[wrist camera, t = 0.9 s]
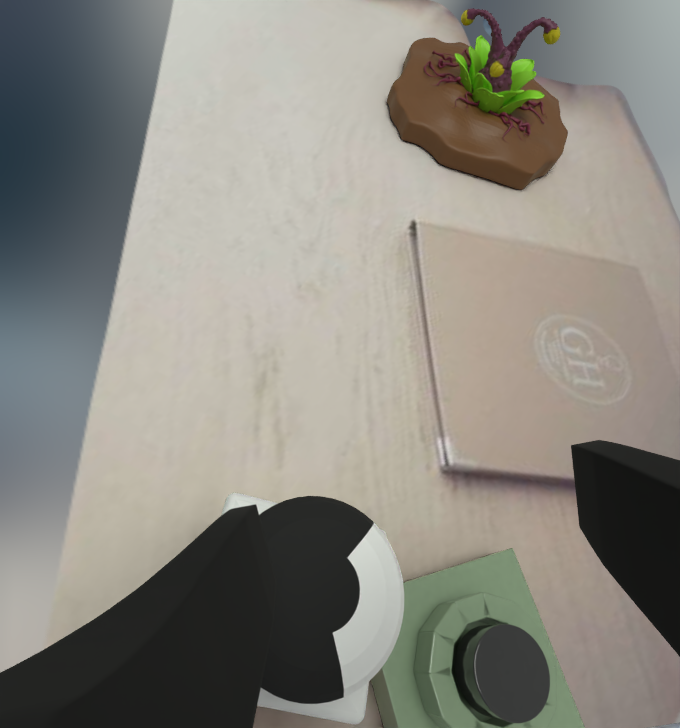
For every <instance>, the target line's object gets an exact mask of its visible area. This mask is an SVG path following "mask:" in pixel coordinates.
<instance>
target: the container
mask: <svg viewBox="0 0 680 728" xmlns="http://www.w3.org/2000/svg"><path fill="white" fill-rule="evenodd" d="M254 504H256V505H257V509H258V513H259V517H260V520H261V524H262V528H263V532H264V535H265V539H266V543H267V547H268V551H269V554H270V558H271V562H272V566H273V570H274V573H275V577H276V581H277V583H276V601H275V615H274V625H273V630H272V635H271V640H270V645H269V650H268V655H267V660H266V665H265V670H264V674H263V679H262V684H261V689H260V694H259V699H258V703H257V706H261V707H266V708H271V709H276V710H281V711H286V712H292V713H297V714H302V715H307V716H312V717H317V718H322V719H328V720H333V721H338V722H343V723H348V724H353V725H354V724H359V723H360V722H361V721H362V720H363V719H364V716H365V710H366V702H367V694H368V686H369V681H370V680H371V679H372V678H373V677H374V676H375V675H376V674H377V673H378V672H379V670H380V669H381V668H382V666H383V665H384V664H385V662H386V661H387V659H388V657H389V656H390V654H391V652H392V650H393V649H394V646H395V644H396V641H397V639H398V636H399V633H400V629H401V625H402V620H403V613H404V586H403V579H402V574H401V570H400V566H399V563H398V561H397V558H396V555H395V553H394V551H393V549H392V547H391V545H390V543H389V541H388V540H387V535H386V533H385V531H384V530H382V529H380V528H378V527H377V525H376V524H375V523H374V522H373V521H372V520H371V519H369V518H368V517H367V516H366V515H365V514H363V513H362V512H360V511H359V510H357V509H356V508H354V507H352V506H350V505H348V504H346V503H344V502H341V501H338V500H335V499H332V498H326V497H320V496H306V497H297V498H293V499H289V500H286V501H283V502H281V503H276V502H272V501H268V500H264V499H260V498H256V497H252V496H248V495H244V494H240V493H232V494H230V495H228V497H227V499H226V501H225V505H224V508H223V511H222V515H223V514H224V513H225V512H227V511H228V510H230V509H233V508H238V507H244V506H249V505H254ZM222 515H221V516H222Z"/></svg>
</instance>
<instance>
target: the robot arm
mask: <svg viewBox="0 0 680 728" xmlns="http://www.w3.org/2000/svg"><path fill="white" fill-rule="evenodd" d="M571 449H572V459H573V469H574V478H575V488H576V497H577V507H578V516H579V526H580V528H581V530H582V532H583V533H584V535H585V537H586V538H587V540H588V542H589V543H590V545H591V547H592V548H593V550H594V551H595V553H596V554H597V556H598V557H599V559H600V560H601V562H602V564H603V565H604V566H605V567H606V569H607V570H608V571H609V572H610V574H611V575H612V576H613V577H614V579H615V580H616V581H617V582H618V583H619V585H620V586H621V587H622V588H623V589H624V591H625V592H626V593H627V594H628V595H629V597H630V598H631V599H632V600H633V601H634V603H635V604H636V605H637V606H638V607H639V609H640V610H641V611H642V612H643V613H644V614H645V616H646V617H647V618H648V619H649V620H650V622H651V623H652V624H653V625H654V626H655V628H656V629H657V630H658V631H659V632H660V633H661V635H662V636H663V637H664V638H665V639H666V641H667V642H668V643H669V644H670V645H671V647H672V648H673V649H674V650H675V651H676V652H677V654H678V655H679V656H680V460H676V459H672V458H669V457H665V456H662V455H658V454H655V453H651V452H647V451H644V450H640V449H637V448H633V447H629V446H625V445H621V444H617V443H613V442H608V441H601V440H597V441H592V442H586V443H581V444H576V445H571ZM276 583H277V581H276V577H275V573H274V570H273V566H272V562H271V558H270V554H269V551H268V547H267V543H266V539H265V535H264V532H263V528H262V524H261V520H260V517H259V513H258V509H257V505H256V504H254V505H249V506H244V507H238V508H233V509H230V510H228V511H227V512H225V513H224V514H223V515H222V516H220V517H219V518H218V519H217V520H216V521H215V522H214V523H212V524H211V525H210V526H209V527H208V528H207V529H206V530H205V531H204V532H203V533H202V534H200V535H199V536H198V537H197V538H196V539H195V540H194V541H193V542H192V543H191V544H189V545H188V546H187V547H186V548H185V549H184V550H183V551H182V552H181V553H180V554H178V555H177V556H176V557H175V558H174V559H173V560H171V561H170V562H169V563H168V564H167V565H165V566H164V567H163V568H162V569H161V570H159V571H158V572H157V573H156V574H155V575H154V576H152V577H151V578H150V579H149V580H148V581H146V582H145V583H144V584H143V585H141V586H140V587H139V588H138V589H136V590H135V591H134V592H132V593H131V594H130V595H128V596H127V597H126V598H124V599H123V600H121V601H120V602H119V603H117V604H116V605H114V606H113V607H111V608H110V609H109V610H107V611H106V612H104V613H103V614H101V615H100V616H98V617H97V618H95V619H94V620H92V621H91V622H89V623H87V624H86V625H84V626H82V627H81V628H79V629H78V630H76V631H74V632H73V633H71V634H69V635H68V636H66V637H64V638H63V639H61V640H59V641H58V642H56V643H54V644H53V645H51V646H49V647H48V648H46V649H44V650H43V651H41V652H39V653H37V654H35V655H33V656H32V657H30V658H28V659H26V660H24V661H22V662H20V663H19V664H17V665H15V666H13V667H11V668H9V669H7V670H5V671H3V672H1V673H0V728H253V723H254V718H255V713H256V708H257V703H258V699H259V694H260V689H261V684H262V679H263V674H264V670H265V665H266V660H267V655H268V650H269V645H270V640H271V635H272V630H273V625H274V615H275V601H276ZM649 728H680V723H674V724H668V725H661V726H655V727H649Z"/></svg>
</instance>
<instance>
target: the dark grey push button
mask: <svg viewBox="0 0 680 728" xmlns="http://www.w3.org/2000/svg"><path fill="white" fill-rule="evenodd" d="M455 674H456V679H457V683H458V686H459V688H460V691H461V693H462V695H463V696H464V698H465V699H466V701H467V702H468V703H469V705H470V706H471V707H472V708H474V709H475V710H476V711H477V712H479V713H480V714H482V715H484V716H487V717H490V718H494V719H498V720H502V721H507V722H511V723H525V722H528V721H530V720H532V719H534V718H535V717H536V716H537V715H538V714H539V713H540V712H541V711H542V709H543V708H544V706H545V704H546V702H547V699H548V696H549V690H550V674H549V668H548V664H547V661H546V658H545V656H544V653H543V651H542V650H541V648H540V646H539V645H538V643H537V642H536V641H535V640H534V638H533V637H532V636H531V635H530V634H528V633H527V632H526V631H524V630H523V629H521V628H519V627H517V626H514V625H510V624H494V625H481V626H477V627H475V628H472V629H471V630H470V631H468V632H467V633H466V634H465V635H464V636H463V638H462V639H461V641H460V643H459V645H458V648H457V651H456V655H455Z"/></svg>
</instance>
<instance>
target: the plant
mask: <svg viewBox="0 0 680 728" xmlns="http://www.w3.org/2000/svg"><path fill="white" fill-rule="evenodd" d="M477 15H481V16H484V19H487V21H488V24H489V25H490V26H491V30H492V33H491V36H492V45H491V46H490V45H489V43H488V42H487V41H486V40H485V39H484V37H483V36H482V35H481V36H479V37H478V38H477V39H476V46H475V50H474V49H473V48H472V47H471V46H467V45H466V44H464V43H460V42H458V43H444V42H441V41H440V40H438V39H436V38H423V39H419V40H417V41H415V42H414V43H413V44H412V45H411V47H410V49H409V52H408V54H407V57H406V59H405V62H404V66H403V72H402V74H401V76H400V77H399V79H397V80H396V81H395V82H394V83H393V85H392V87H391V90H390V92H389V95H388V98H387V103H388V105H389V108H390V116H391V119H392V121H393V122H394V124H395V125H396V127H397V129H398V131H399V133H400V137H401V139H402V140H404V141H408V142H412V143H414V144H417V145H419V146H421V147H423V148H424V149H426V150H427V151H428V152H429V153H430V154H431V155H432V156H433V157H434V158H435V159H436V160H437V161H438V163H440V164H442V165H444V166H446V167H449V168H453V169H456V170H460V171H463V172H466V173H469V174H473V175H476V176H479V177H483V178H486V179H489V180H492V181H495V182H498V183H500V184H503V185H506V186H509V187H512V188H515V189H520V190H522V189H524V188H525V187H526V186H527V185H528V184H529V183H530V182H531V181H533V180H534V179H536V178H538V177H542V176H544V175H545V174H546V173H547V172H548V171H549V170H550V169H551V168H552V167H553V165H554V164H555V163H556V161H557V160H558V159H559V157H560V156H561V154H562V153H563V149H564V145H565V142H566V138H567V134H568V131H567V129H566V128H565V126H564V125H563V123H562V121H561V117H560V108H559V101H558V100H557V99H556V98H555V97H553V96H552V95H551V94H550V93H549V92H548V91H546V90H545V89H544V88H543V87H542V86H541V85H540V84H538V83H537V82H536V81H535V80H534V79H533V78H534V77H535V76H536V72H534V71H532V69H533V67H534V61H533V60H531V59H521V60H518V61H515V62H513V60H514V59H515V57H516V55H517V51H518V49H519V48H520V46H521V44H522V42H523V41H524V39H525V38H526V37H527V35H528V34H529V33H530V32H532V30H533V29H535V28H536V27H537V26H540V25H541V26H542V27H544V34H543V37H544V40H545V42H546V43H547V44H553V43H555V42H556V41H557V40H558V39H559V37H560V30H559V27H558V26H557V24H555V23H554V21H551V19H545V18H544V17H542V18H541V19H538V20H535V21H533V22H531V23H530V24H529V25H527V26H525V27H524V28H523V30H521V31H519V32H517V34H516V37H514V38H513V40H512V42H511V43H510V44H509V45H508V46H507V47H505V46H504V44H503V41H502V34H501V29H499V24H497V21H496V20H495V18H494V17H493V16H492V14H491V13H488V11H486V10H479V9H477V10H476V9H468V10H467V11H464V13H463V14H462V17H461V21H462V23H463V25H470V24H471V23H472V22H473V20H474V19H475V17H476V16H477Z"/></svg>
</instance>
